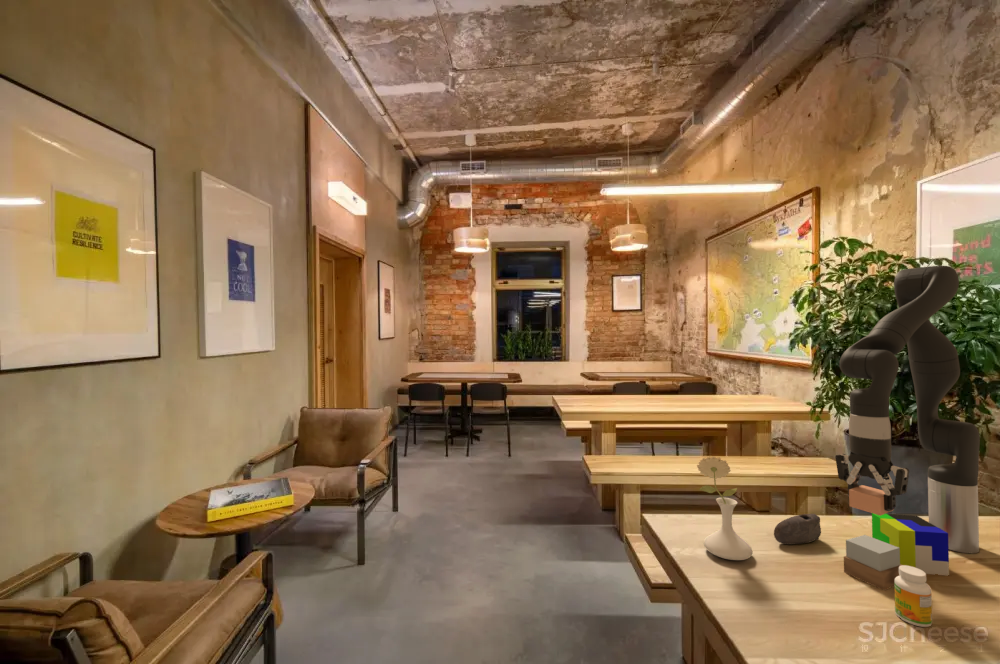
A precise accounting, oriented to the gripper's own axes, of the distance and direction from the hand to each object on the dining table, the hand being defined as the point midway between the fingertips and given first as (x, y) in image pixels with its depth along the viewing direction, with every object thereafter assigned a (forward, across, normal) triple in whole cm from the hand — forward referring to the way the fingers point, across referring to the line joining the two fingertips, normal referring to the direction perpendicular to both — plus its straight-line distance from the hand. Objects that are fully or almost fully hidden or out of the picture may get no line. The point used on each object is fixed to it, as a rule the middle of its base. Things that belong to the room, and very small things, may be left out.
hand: (871, 504), depth 102 cm
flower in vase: (+17, +22, +22) cm, 35 cm away
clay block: (+1, 0, 0) cm, 1 cm away
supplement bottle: (+17, -12, +10) cm, 23 cm away
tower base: (+17, 0, 0) cm, 17 cm away
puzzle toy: (+17, 0, -15) cm, 23 cm away
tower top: (+13, 0, 0) cm, 13 cm away
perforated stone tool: (+17, +18, -1) cm, 25 cm away
